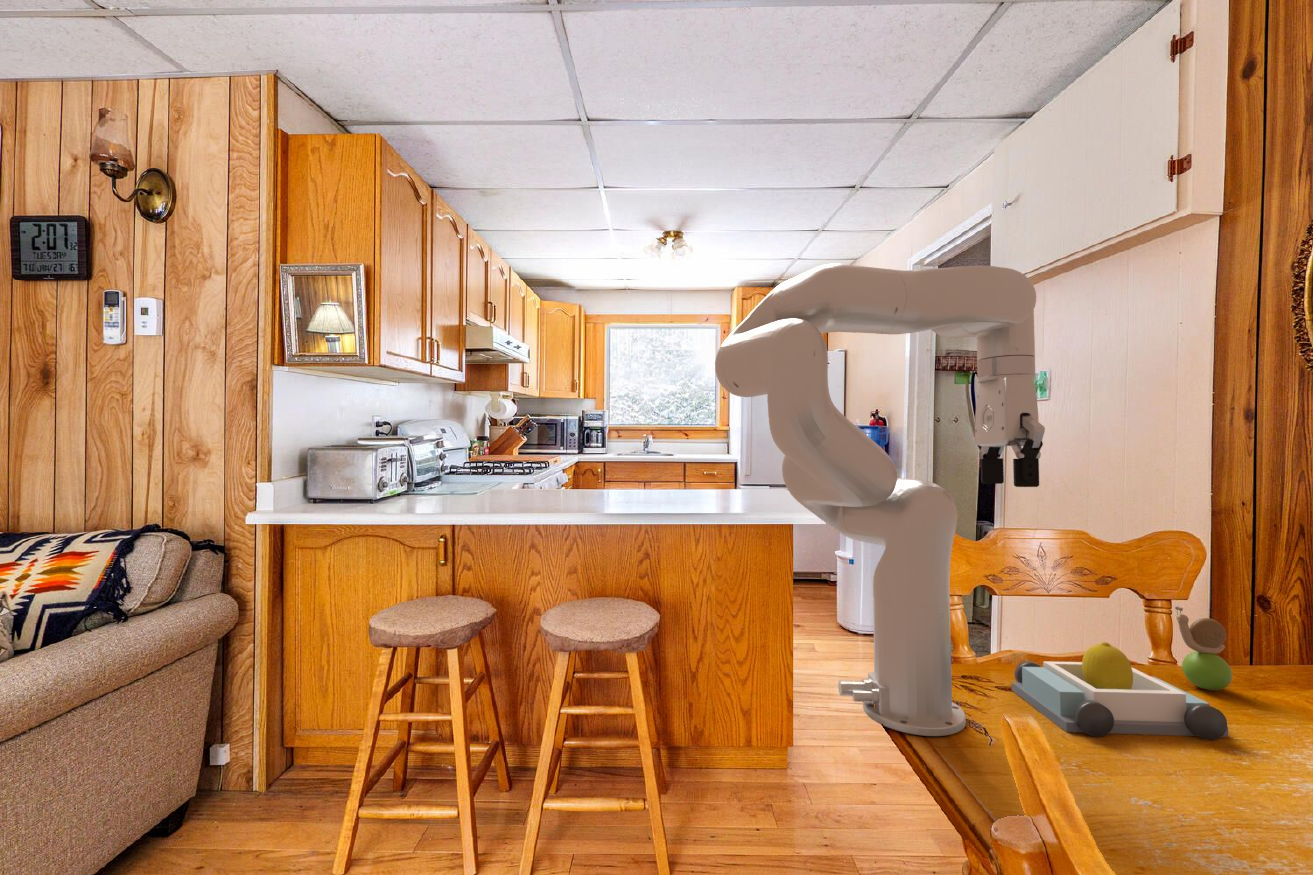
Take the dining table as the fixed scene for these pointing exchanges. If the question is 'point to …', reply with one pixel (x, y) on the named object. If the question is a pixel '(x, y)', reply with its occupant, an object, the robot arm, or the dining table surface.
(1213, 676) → the snail figurine
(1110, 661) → the lemon
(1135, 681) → the chassis
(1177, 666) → the dining table surface
